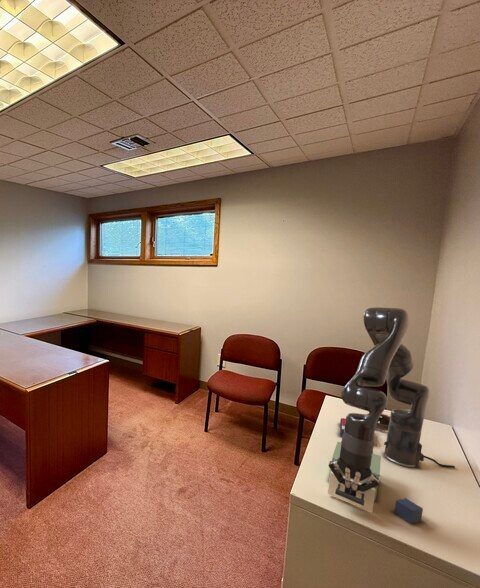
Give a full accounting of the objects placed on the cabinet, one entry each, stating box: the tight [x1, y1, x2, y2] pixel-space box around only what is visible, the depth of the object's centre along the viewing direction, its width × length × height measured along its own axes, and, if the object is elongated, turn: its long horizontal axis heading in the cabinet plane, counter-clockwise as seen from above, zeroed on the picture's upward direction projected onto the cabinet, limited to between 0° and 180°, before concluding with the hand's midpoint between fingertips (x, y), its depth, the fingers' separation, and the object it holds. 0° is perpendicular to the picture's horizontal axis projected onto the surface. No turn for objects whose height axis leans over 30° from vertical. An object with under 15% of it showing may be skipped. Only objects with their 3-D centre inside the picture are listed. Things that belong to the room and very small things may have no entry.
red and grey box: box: [339, 417, 346, 438], centre depth 147 cm, size 11×4×15 cm
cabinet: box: [328, 440, 382, 502], centre depth 115 cm, size 15×13×10 cm
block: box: [393, 497, 424, 525], centre depth 100 cm, size 4×4×4 cm
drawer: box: [327, 466, 376, 514], centre depth 107 cm, size 19×11×8 cm, turn 136°
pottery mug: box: [375, 413, 390, 431], centre depth 154 cm, size 12×10×8 cm
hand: (349, 497), depth 102 cm, fingers closed
